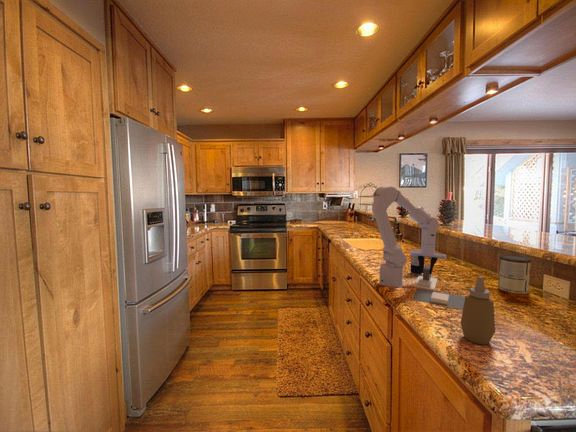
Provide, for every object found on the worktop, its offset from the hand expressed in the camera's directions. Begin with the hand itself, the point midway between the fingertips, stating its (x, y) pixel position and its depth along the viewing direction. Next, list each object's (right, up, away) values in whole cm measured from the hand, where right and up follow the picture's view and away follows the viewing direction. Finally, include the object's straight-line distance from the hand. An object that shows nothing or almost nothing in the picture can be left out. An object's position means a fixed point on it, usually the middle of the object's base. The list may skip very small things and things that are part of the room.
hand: (426, 273), depth 126 cm
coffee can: (+33, -6, -8) cm, 34 cm away
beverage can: (+2, -4, +15) cm, 15 cm away
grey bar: (-1, -4, -1) cm, 4 cm away
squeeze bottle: (-10, -9, -48) cm, 50 cm away
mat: (-4, -6, -20) cm, 21 cm away
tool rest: (-1, -5, -1) cm, 5 cm away
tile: (-4, -5, -18) cm, 19 cm away
